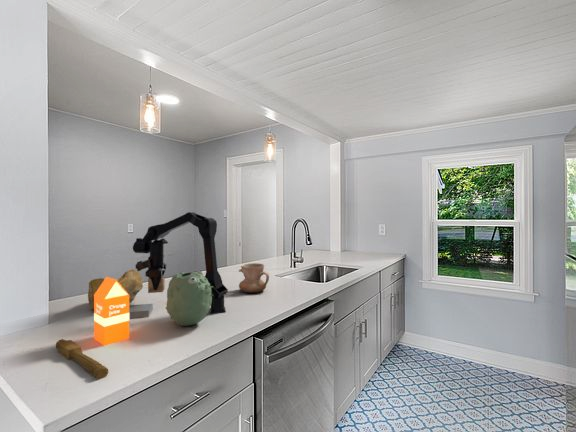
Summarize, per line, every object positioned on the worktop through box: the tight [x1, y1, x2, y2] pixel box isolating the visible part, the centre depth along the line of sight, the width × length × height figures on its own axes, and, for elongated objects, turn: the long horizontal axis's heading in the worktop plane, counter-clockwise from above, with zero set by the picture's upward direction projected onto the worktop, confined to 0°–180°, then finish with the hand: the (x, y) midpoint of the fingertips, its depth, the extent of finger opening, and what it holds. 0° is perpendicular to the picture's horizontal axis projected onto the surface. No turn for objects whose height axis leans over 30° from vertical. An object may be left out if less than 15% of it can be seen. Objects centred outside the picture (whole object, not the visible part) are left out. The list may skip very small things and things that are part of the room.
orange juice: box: [93, 276, 130, 347], centre depth 101 cm, size 8×9×20 cm
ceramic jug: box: [238, 262, 270, 294], centre depth 164 cm, size 18×14×14 cm
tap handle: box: [55, 338, 109, 380], centre depth 86 cm, size 3×3×30 cm
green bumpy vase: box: [165, 270, 213, 327], centre depth 114 cm, size 16×19×20 cm
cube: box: [147, 275, 166, 294], centre depth 137 cm, size 6×6×6 cm
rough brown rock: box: [87, 269, 144, 311], centre depth 140 cm, size 23×17×15 cm
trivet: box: [129, 303, 154, 319], centre depth 126 cm, size 10×10×2 cm
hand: (156, 288), depth 137 cm, fingers closed on cube, 6 cm apart
